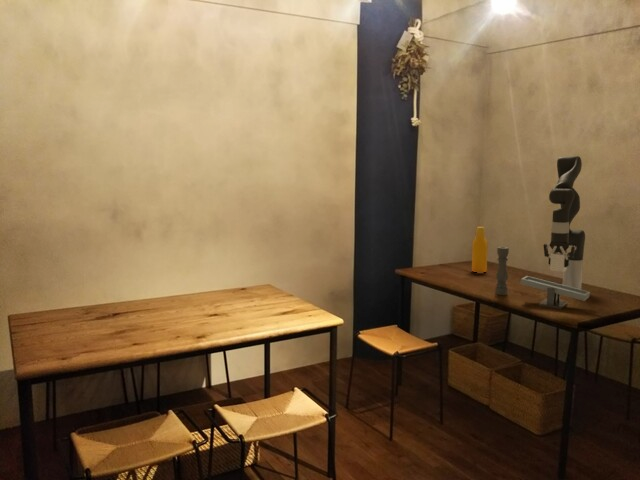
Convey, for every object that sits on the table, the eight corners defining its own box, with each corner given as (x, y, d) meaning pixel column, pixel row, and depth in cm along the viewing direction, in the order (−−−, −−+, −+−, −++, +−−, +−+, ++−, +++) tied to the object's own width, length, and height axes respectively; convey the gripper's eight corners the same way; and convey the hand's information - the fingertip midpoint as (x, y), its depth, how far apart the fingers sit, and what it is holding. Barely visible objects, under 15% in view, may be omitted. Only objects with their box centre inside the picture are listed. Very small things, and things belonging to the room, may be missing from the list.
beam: (525, 280, 271) (526, 275, 270) (588, 297, 253) (590, 291, 252) (520, 283, 264) (521, 278, 263) (584, 301, 246) (586, 295, 245)
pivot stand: (545, 300, 267) (546, 282, 266) (567, 303, 261) (568, 285, 260) (538, 305, 258) (539, 287, 256) (560, 309, 252) (561, 290, 250)
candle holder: (508, 295, 278) (510, 248, 275) (495, 295, 280) (497, 248, 276) (506, 292, 284) (508, 246, 281) (494, 292, 286) (496, 246, 282)
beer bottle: (469, 270, 342) (470, 226, 338) (483, 270, 343) (484, 226, 339) (475, 273, 333) (476, 228, 329) (489, 273, 334) (490, 227, 330)
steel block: (553, 267, 255) (553, 251, 253) (566, 269, 251) (567, 252, 250) (550, 270, 250) (550, 253, 249) (563, 271, 246) (564, 254, 245)
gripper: (578, 231, 246) (576, 266, 249) (546, 229, 255) (544, 263, 258) (575, 233, 240) (573, 269, 243) (541, 231, 249) (540, 266, 252)
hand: (558, 266), depth 250 cm, fingers closed on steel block, 6 cm apart
